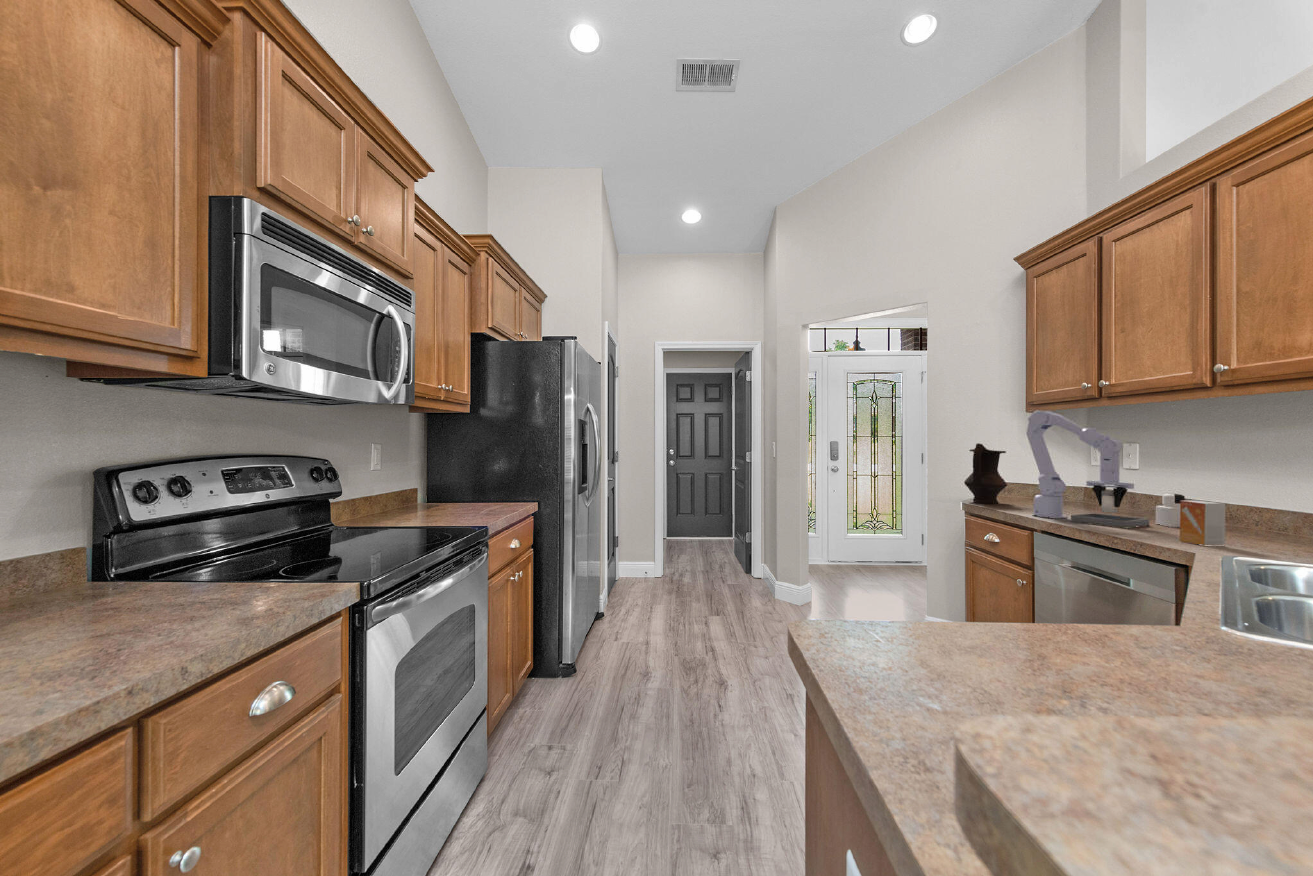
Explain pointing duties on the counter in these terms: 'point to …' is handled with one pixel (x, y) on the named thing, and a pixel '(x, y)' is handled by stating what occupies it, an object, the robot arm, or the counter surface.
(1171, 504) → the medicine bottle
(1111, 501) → the shaker
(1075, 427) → the robot arm
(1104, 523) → the tray
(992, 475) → the jug
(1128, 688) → the counter surface
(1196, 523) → the small box
